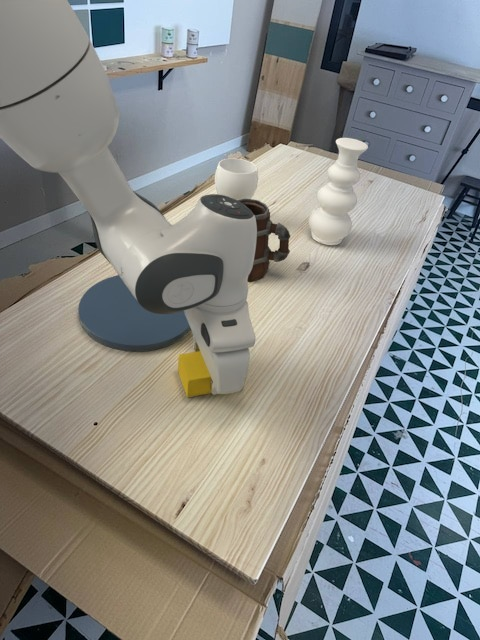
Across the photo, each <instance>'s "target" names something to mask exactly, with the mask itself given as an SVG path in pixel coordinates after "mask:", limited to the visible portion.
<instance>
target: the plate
mask: <svg viewBox="0 0 480 640" xmlns="http://www.w3.org/2000/svg"><path fill="white" fill-rule="evenodd" d="M77 309H78V320H79V323H80V325H81V327H82V329H83V331H84V332H85V333H86V335H88V336H89V337H90V338H91V339H93V340H94V341H95V342H97V343H99V344H100V345H102V346H105V347H108V348H111V349H114V350H119V351H125V352H147V351H149V352H150V351H154V350H159V349H163V348H166V347H169V346H171V345H173V344H176V343H178V342H179V341H181V340H182V339H184V338H185V337H186V336H187V335H188V334H189V333H190V332H191V331H192V330H191V328H190V325H189V323H188V321H187V318H186V316H185V312H184V311H180V312H177V313H172V314H156V313H152V312H149V311H147V310H145V309H144V308H143V307H142V306H141V305H140V304H139V302H138V301H137V300H136V299H135V297H134V296H133V295H132V293H131V292H130V290H129V289H128V288H127V286H126V285H125V283H124V282H123V281H122V279H121V278H120V276H119V275H118V274H117V275H112V276H110V277H107V278H104V279H102V280H100V281H98V282H96V283H95V284H93V285H92V286H91V287H90V288H88V289H87V290H86V291H85V292H84V294H83V295H82V296H81V298H80V300H79V303H78V308H77Z"/></svg>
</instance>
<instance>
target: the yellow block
mask: <svg viewBox="0 0 480 640" xmlns="http://www.w3.org/2000/svg"><path fill="white" fill-rule="evenodd" d="M177 365H178V366H177V373H178V375H179V378H180V381H181V385H182V387H183V390H184V392H185V395H186V398H192V397H197V396H202V395H203V396H204V395H207V394H212V392H211V389H210V381H212V378H211V376H210V374H209V371H208V369H207V366H206V364H205V362H204V359H203V357H202V354H201V352H200V351H198V352H195V351H192V352H186V353H180V354H178V364H177Z"/></svg>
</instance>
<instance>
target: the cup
mask: <svg viewBox="0 0 480 640" xmlns="http://www.w3.org/2000/svg"><path fill="white" fill-rule="evenodd" d="M258 169H259V168H258V166H257V165H256V164H255V163H253V162H252V161H249V160H246V159H242V158H236V157H232V158H224V159H221V160H220V161H218V164H217V167H216V170H215V173H214V185H215V192H216V194H218V195H224V196H228V197H230V198H233V199H236V200H241V199H253V197H254V195H255V193H256V190H257V188H258V182H259V171H258Z"/></svg>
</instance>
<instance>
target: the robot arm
mask: <svg viewBox="0 0 480 640" xmlns="http://www.w3.org/2000/svg"><path fill="white" fill-rule="evenodd" d="M120 116H121V112H120V109H119V105H118V102H117V99H116V96H115V93H114V90H113V87H112V85H111V82H110V79H109V77H108V74H107V72H106V69H105V67H104V65H103V63H102V61H101V59H100V56H99V54H98V53H97V51H96V49H95V47H94V45H93V43H92V41H91V40H90V38H89V36H88V34H87V31H86V30H85V28H84V26H83V25H82V23H81V21H80V19H79V17H78V16H77V14H76V12H75V10H74V9H73V7H72V6H71V4H70V2H69V1H68V0H0V139H1V140H2V141H3V142H4V143H5V144H6V145H7V146H8V147H9V148H10V149H11V150H12V151H13V152H15V154H17V155H18V156H19V157H20V158H21V159H22V160H24V161H25V162H26V163H27V165H30V167H32V168H33V169H35V170H38V171H41V172H46V173H54V174H55V173H56V174H59V176H60V177H61V178H62V179H63V180H64V182H65V183H66V184H67V186H68V187H69V188H70V190H71V191H72V192H73V194H74V195H75V197H76V198H77V199H78V201H79V202H80V203H81V205H82V206H83V207H84V209H85V210H86V211H87V213H88V215H89V217H90V221H91V226H92V233H93V238H94V242H95V245H96V247H97V249H98V251H99V252H100V254H101V255H102V256H103V257H104V258H105V260H106V261H107V262H108V263H109V264H110V265H111V267H112V268H113V269H114V270H115V272H116V273H117V275H119V276H120V278H121V279H122V281H123V282H124V283H125V285H126V286H127V288H128V289H129V290H130V292H131V293H132V295H133V296H134V297H135V299H136V300H137V301H138V302H139V304H140V305H141V306H142V307H143V308H144V309H145V310H147V311H149V312H152V313H156V314H172V313H177V312H180V311H184V312H185V316H186V318H187V321H188V323H189V325H190V328H191V330H190V331H191V333H192V338H193V350H194V352H198V351H200V352H201V354H202V357H203V359H204V362H205V364H206V366H207V369H208V371H209V374H210V376H211V378H212V381H210V389H211V392H212V393H211V394H212V395H213V396H215V395H228V394H233V393H237V392H240V391H241V390H242V389H243V388H244V385H245V382H246V379H247V374H248V371H249V366H250V358H251V357H250V356H251V355H250V348H253V347H254V346H255V344H256V333H255V331H254V327H253V324H252V320H251V316H250V311H249V302H248V295H249V282H248V281H247V280H248V276H249V274H250V272H251V270H252V267H253V262H254V256H255V249H256V239H257V225H256V218H255V215H254V214H253V213H252V211H251V210H250V209H249V208H248V207H246V206H245V205H244V204H242V203H241V202H239V201H238V200H236V199H233V198H230V197H228V196H224V195H218V194H217V193H212V194H205V195H202V196H200V197H199V199H198V201H197V203H196V205H195V206H194V207H193V209H191V211H190V212H189V213H188V214H187V215H185V216H184V217H183V218H181V219H180V220H179V221H177V222H176V223H174V224H171V222H169V220H167V219H166V216H164V214H163V213H162V212H161V211H160V209H159V208H158V207H157V206H156V205H155V204H154V203H153V202H152V201H150V200H149V199H147V198H146V197H144V196H142V195H141V194H139V193H137V192H136V191H134V190H133V188H132V187H131V185H130V183H129V182H128V180H127V178H126V176H125V174H124V173H123V171H122V169H121V168H120V166H119V164H118V163H117V161H116V159H115V157H114V156H113V154H112V152H111V150H110V148H109V146H110V144H111V143H112V141H113V139H114V138H115V136H116V134H117V131H118V129H119V123H120Z"/></svg>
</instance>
